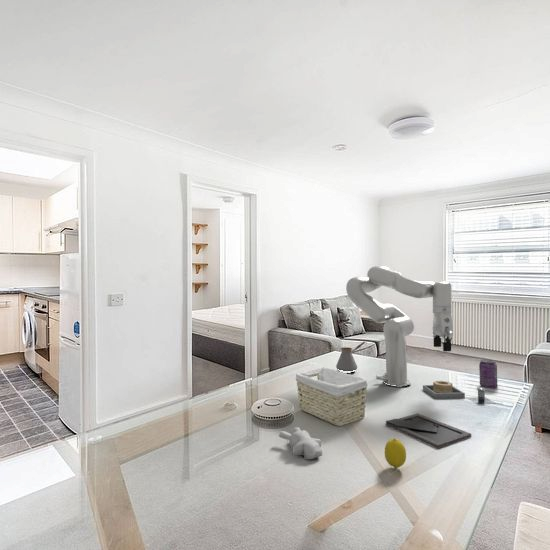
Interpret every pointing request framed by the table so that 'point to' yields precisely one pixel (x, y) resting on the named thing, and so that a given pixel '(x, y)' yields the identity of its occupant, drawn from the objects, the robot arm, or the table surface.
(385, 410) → the table surface
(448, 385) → the maple ring
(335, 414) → the storage basket
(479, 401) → the grey knobbed square plate
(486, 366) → the beverage can
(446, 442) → the picture frame
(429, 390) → the charcoal tray
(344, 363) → the coffee pot
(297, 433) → the bunny figurine
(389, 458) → the lemon
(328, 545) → the table surface
